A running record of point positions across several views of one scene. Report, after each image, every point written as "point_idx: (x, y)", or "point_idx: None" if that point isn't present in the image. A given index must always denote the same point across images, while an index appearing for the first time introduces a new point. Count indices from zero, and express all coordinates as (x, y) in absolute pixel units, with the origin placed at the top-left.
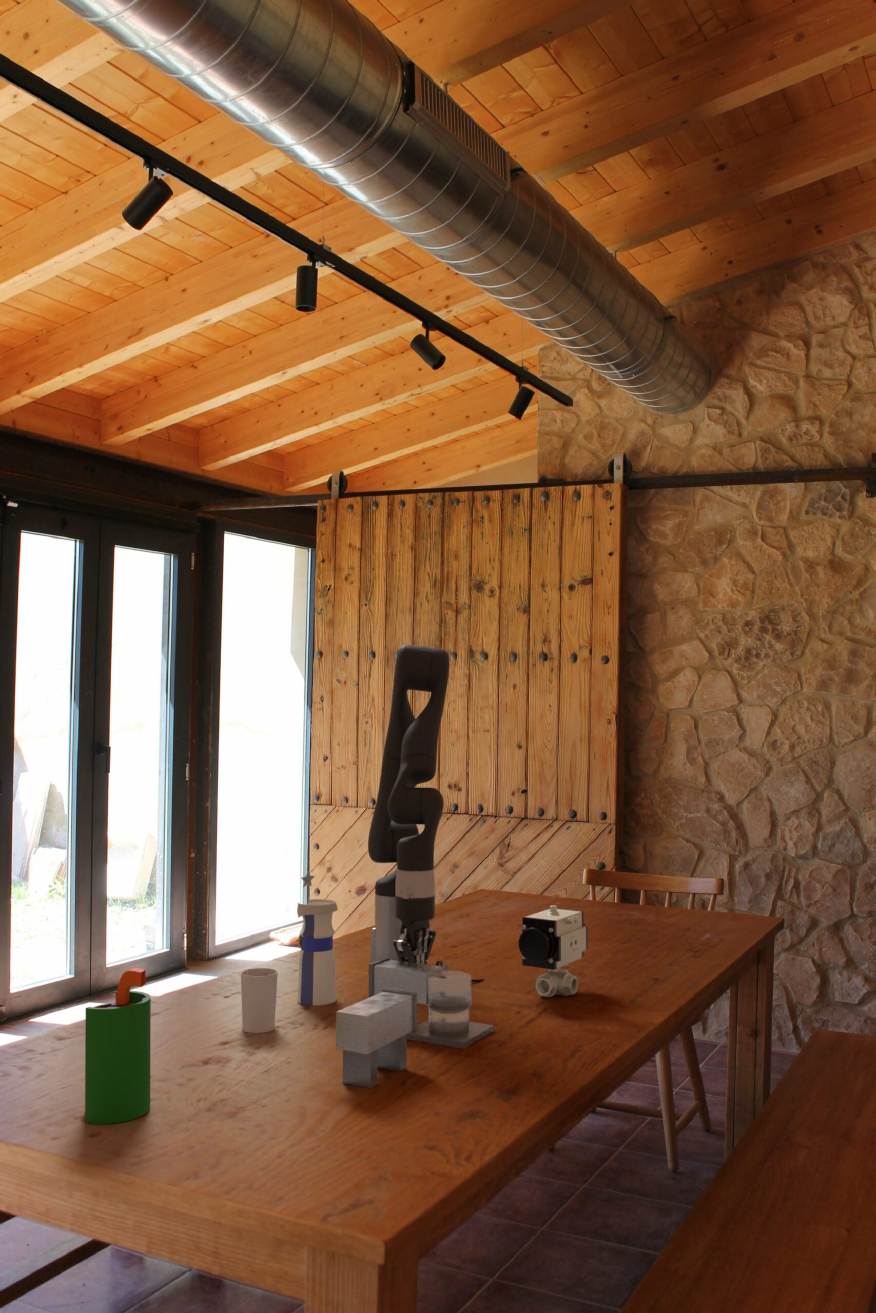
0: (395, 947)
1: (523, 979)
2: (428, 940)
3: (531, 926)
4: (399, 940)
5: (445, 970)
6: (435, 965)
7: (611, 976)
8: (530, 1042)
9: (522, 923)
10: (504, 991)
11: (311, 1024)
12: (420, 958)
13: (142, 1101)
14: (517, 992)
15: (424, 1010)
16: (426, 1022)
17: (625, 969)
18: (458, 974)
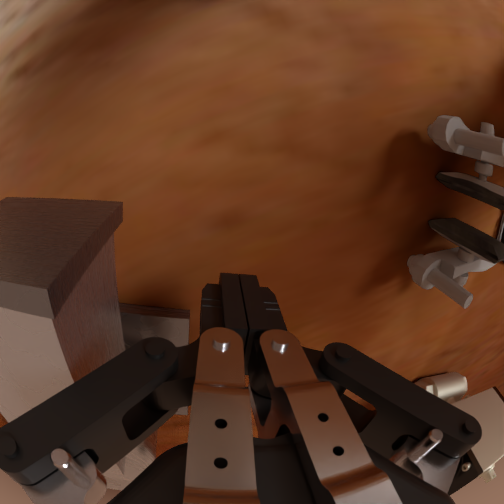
0: (15, 427)
1: (499, 313)
2: (387, 451)
3: (458, 474)
4: (23, 487)
5: (452, 293)
6: (492, 246)
7: (482, 379)
8: (162, 440)
9: (474, 466)
10: (452, 324)
11: (37, 23)
12: (253, 405)
13: None
14: (444, 342)
15: (293, 243)
16: (127, 319)
17: (498, 373)
18: (121, 480)
